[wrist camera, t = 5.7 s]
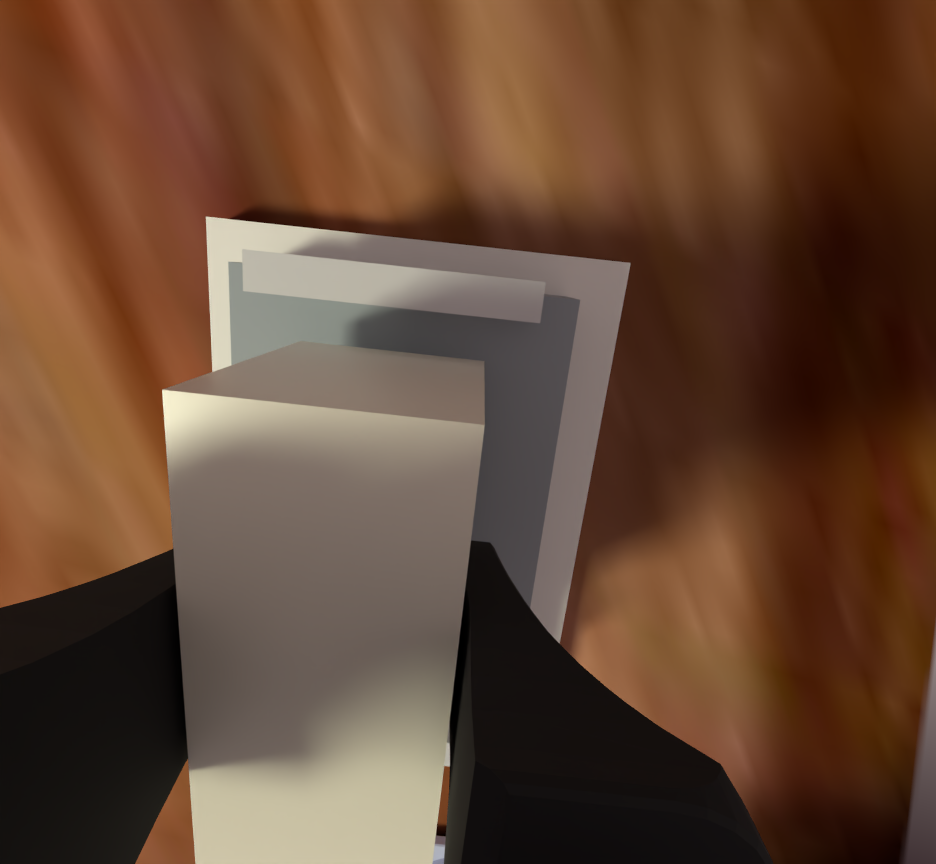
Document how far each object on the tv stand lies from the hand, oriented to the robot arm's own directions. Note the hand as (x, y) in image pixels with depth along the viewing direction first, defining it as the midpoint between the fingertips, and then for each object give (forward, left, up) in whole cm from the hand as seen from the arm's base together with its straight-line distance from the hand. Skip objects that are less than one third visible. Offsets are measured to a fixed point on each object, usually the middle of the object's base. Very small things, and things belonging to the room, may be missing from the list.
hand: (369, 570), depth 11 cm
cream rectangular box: (0, 0, -1) cm, 1 cm away
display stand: (0, 0, -5) cm, 5 cm away
